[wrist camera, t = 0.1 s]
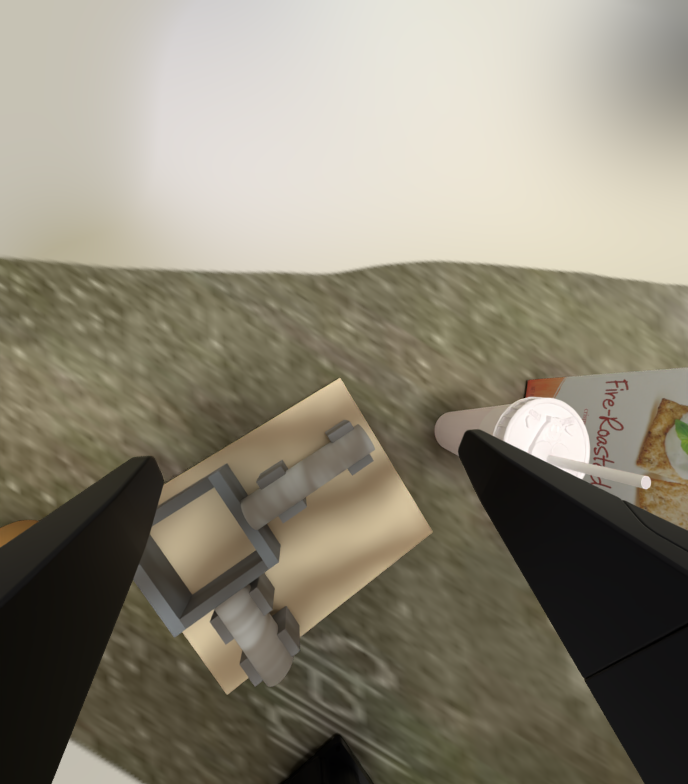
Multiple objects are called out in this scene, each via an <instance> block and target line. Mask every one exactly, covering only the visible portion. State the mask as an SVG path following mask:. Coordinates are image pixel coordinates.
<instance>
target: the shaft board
mask: <svg viewBox="0 0 688 784" xmlns="http://www.w3.org/2000/svg"><path fill="white" fill-rule="evenodd" d="M432 532H433V531H432V530H431V528H430V526H429V525H428V523H427V521H426V520H425V518H424V516H423V515H422V513H421V512H420V510H419V508H418V507H417V505H416V503H415V502H414V500H413V498H412V497H411V495H410V493H409V492H408V490H407V488H406V487H405V485H404V483H403V482H402V480H401V478H400V477H399V475H398V473H397V472H396V470H395V468H394V467H393V465H392V463H391V462H390V460H389V458H388V457H387V455H386V453H385V452H384V450H383V448H382V447H381V445H380V443H379V442H378V440H377V438H376V437H375V435H374V433H373V432H372V430H371V428H370V427H369V425H368V423H367V422H366V420H365V418H364V417H363V415H362V413H361V412H360V410H359V408H358V407H357V405H356V403H355V402H354V400H353V398H352V397H351V395H350V393H349V392H348V390H347V388H346V387H345V385H344V383H343V382H342V380H341V378H339V379H337V380H335V381H334V382H332V383H330V384H329V385H327V386H325V387H324V388H322V389H320V390H319V391H317V392H316V393H314V394H312V395H311V396H309V397H307V398H306V399H304V400H302V401H301V402H299V403H297V404H296V405H294V406H292V407H291V408H289V409H287V410H286V411H284V412H283V413H281V414H279V415H278V416H276V417H274V418H273V419H271V420H269V421H268V422H266V423H264V424H263V425H261V426H259V427H258V428H256V429H254V430H253V431H251V432H250V433H248V434H246V435H245V436H243V437H241V438H240V439H238V440H236V441H235V442H233V443H231V444H230V445H228V446H226V447H225V448H223V449H222V450H220V451H218V452H217V453H215V454H213V455H212V456H210V457H208V458H207V459H205V460H203V461H202V462H200V463H198V464H197V465H195V466H193V467H192V468H190V469H189V470H187V471H185V472H184V473H182V474H180V475H179V476H177V477H175V478H174V479H172V480H170V481H169V482H167V483H165V484H164V485H163V489H162V492H161V496H160V499H159V503H158V507H157V510H156V514H155V517H154V521H153V525H152V528H151V532H150V535H149V538H148V542H147V545H146V548H145V550H144V553H143V556H142V558H141V561H140V563H139V566H138V568H137V571H136V573H135V576H134V578H133V580H134V582H135V583H136V585H137V586H138V587H139V589H140V590H141V592H142V593H143V594H144V596H145V597H146V599H147V600H148V601H149V603H150V604H151V606H152V607H153V608H154V610H155V611H156V612H157V614H158V615H159V617H160V618H161V619H162V621H163V622H164V624H165V625H166V626H167V628H168V629H169V631H170V632H171V633H172V635H173V636H174V637H176V636H177V635H179V634H180V633H181V632H183V634H184V635H185V636H186V638H187V639H188V641H189V642H190V644H191V645H192V646H193V648H194V649H195V651H196V652H197V653H198V655H199V656H200V658H201V659H202V660H203V662H204V663H205V665H206V666H207V667H208V669H209V670H210V672H211V673H212V674H213V676H214V677H215V679H216V680H217V681H218V683H219V684H220V686H221V687H222V688H223V690H224V691H225V693H226V694H229V693H230V692H231V691H232V690H234V689H235V688H236V687H238V686H239V685H240V684H241V683H243V682H244V681H245V680H246V679H248V678H249V679H250V680H251V682H252V683H253V685H254V686H257V685H258V684H259V683H260V682H262V681H264V682H265V684H266V685H267V686H269V687H272V686H275V685H277V684H278V683H279V682H280V681H281V680H282V679H283V678H284V677H285V676H286V674H287V673H288V671H289V669H290V667H291V665H292V662H293V659H294V655H295V654H297V653H298V652H299V651H300V637H301V636H302V635H303V634H305V633H306V632H307V631H308V630H310V629H311V628H312V627H313V626H315V625H316V624H317V623H318V622H320V621H321V620H322V619H323V618H325V617H326V616H327V615H329V614H330V613H331V612H332V611H334V610H335V609H336V608H337V607H339V606H340V605H341V604H342V603H344V602H345V601H346V600H347V599H349V598H350V597H351V596H353V595H354V594H355V593H356V592H358V591H359V590H360V589H361V588H363V587H364V586H365V585H366V584H368V583H369V582H370V581H371V580H373V579H374V578H375V577H377V576H378V575H379V574H380V573H382V572H383V571H384V570H385V569H387V568H388V567H389V566H390V565H392V564H393V563H394V562H395V561H397V560H398V559H399V558H401V557H402V556H403V555H404V554H406V553H407V552H408V551H409V550H411V549H412V548H413V547H414V546H416V545H417V544H418V543H420V542H421V541H422V540H423V539H425V538H426V537H427V536H428V535H430V534H431V533H432Z"/></svg>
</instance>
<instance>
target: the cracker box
mask: <svg viewBox="0 0 688 784" xmlns="http://www.w3.org/2000/svg"><path fill="white" fill-rule="evenodd" d="M527 397H542V398H554V399H558V400H560V401H563V402H565V403H566V404H568V405H569V406H571V407H572V408H573V409H574V410H575V411H576V412H577V414H578V415H579V416H580V418H581V419H582V421H583V423H584V425H585V427H586V430H587V433H588V436H589V443H590V458H589V464H593V465H598V466H603V467H607V468H612V469H616V470H621V471H626V472H630V473H635V474H639V475H644V476H648V477H649V478H650V480H651V485H650V487H649V488H648V489H643V488H639V487H635V486H632V485H628V484H624V483H620V482H616V481H612V480H608V479H604V478H600V477H596V476H592V475H588V474H585V476H584V477H583V479H582V480H584V481H586V482H588V483H590V484H592V485H594V486H597V487H599V488H601V489H603V490H605V491H607V492H609V493H611V494H613V495H615V496H617V497H619V498H620V499H621V500H625V501H627V502H629V503H631V504H633V505H635V506H638V507H640V508H642V509H644V510H646V511H648V512H650V513H652V514H654V515H656V516H658V517H660V518H662V519H665V520H667V521H669V522H671V523H673V524H675V525H677V526H679V527H682V528H684V529H686V530H688V368H675V369H662V370H648V371H635V372H622V373H608V374H596V375H583V376H570V377H560V378H547V379H535V380H528V385H527V391H526V397H525V398H527Z"/></svg>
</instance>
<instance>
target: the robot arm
mask: <svg viewBox="0 0 688 784" xmlns="http://www.w3.org/2000/svg"><path fill="white" fill-rule="evenodd" d="M458 454H459V457H460V460H461V462H462V464H463V466H464V468H465V470H466V472H467V475H468V477H469V479H470V481H471V483H472V485H473V488H474V490H475V492H476V494H477V496H478V498H479V500H480V502H481V503H482V505H483V507H484V509H485V510H486V512H487V514H488V516H489V517H490V519H491V521H492V522H493V524H494V526H495V528H496V529H497V531H498V533H499V534H500V536H501V538H502V540H503V541H504V543H505V545H506V546H507V548H508V550H509V552H510V553H511V555H512V557H513V558H514V560H515V562H516V564H517V565H518V567H519V569H520V570H521V572H522V574H523V576H524V577H525V579H526V581H527V582H528V584H529V586H530V588H531V589H532V591H533V593H534V594H535V596H536V598H537V600H538V601H539V603H540V605H541V606H542V608H543V610H544V612H545V613H546V615H547V617H548V618H549V620H550V622H551V624H552V625H553V627H554V629H555V630H556V632H557V634H558V635H559V637H560V639H561V641H562V642H563V644H564V646H565V647H566V649H567V651H568V653H569V654H570V656H571V658H572V659H573V661H574V663H575V665H576V666H577V668H578V670H579V671H580V673H581V675H582V677H583V678H585V679H584V680H585V682H586V684H587V686H588V687H589V689H590V691H591V692H592V694H593V696H594V698H595V699H596V701H597V703H598V704H599V706H600V708H601V710H602V711H603V713H604V715H605V716H606V718H607V720H608V722H609V723H610V725H611V727H612V729H613V730H614V732H615V734H616V735H617V737H618V739H619V741H620V742H621V744H622V746H623V747H624V749H625V751H626V753H627V754H628V756H629V758H630V759H631V761H632V763H633V765H634V766H635V768H636V770H637V771H638V773H639V775H640V777H641V778H642V780H643V782H644V783H645V784H688V530H686V529H684V528H682V527H679V526H677V525H675V524H673V523H671V522H669V521H667V520H665V519H662V518H660V517H658V516H656V515H654V514H652V513H650V512H648V511H646V510H644V509H642V508H640V507H638V506H635V505H633V504H631V503H629V502H627V501H625V500H621V499H620V498H619V497H617V496H615V495H613V494H611V493H609V492H607V491H605V490H603V489H601V488H599V487H597V486H594V485H592V484H590V483H588V482H586V481H584V480H582V479H580V478H578V477H576V476H574V475H572V474H570V473H568V472H566V471H564V470H562V469H560V468H558V467H556V466H554V465H552V464H550V463H548V462H545V461H543V460H541V459H539V458H537V457H535V456H533V455H531V454H529V453H527V452H525V451H523V450H521V449H519V448H517V447H515V446H513V445H511V444H509V443H507V442H505V441H503V440H501V439H498V438H496V437H494V436H492V435H490V434H488V433H486V432H484V431H482V430H480V429H472V430H467V431H465V433H464V435H463V437H462V440H461V442H460V445H459V448H458ZM163 484H164V480H163V476H162V473H161V471H160V469H159V467H158V464H157V462H156V460H155V458H154V457H152V456H140V457H133V458H131V459H130V460H128V461H127V462H125V463H124V464H122V465H121V466H119V467H118V468H116V469H115V470H113V471H112V472H110V473H109V474H108V475H106V476H105V477H103V478H102V479H100V480H99V481H97V482H96V483H94V484H93V485H91V486H90V487H88V488H87V489H85V490H84V491H83V492H81V493H80V494H78V495H77V496H75V497H74V498H72V499H71V500H69V501H68V502H66V503H65V504H63V505H62V506H60V507H59V508H58V509H56V510H55V511H53V512H52V513H50V514H49V515H47V516H46V517H44V518H43V519H41V520H40V521H38V522H37V523H35V524H34V525H32V526H31V527H30V528H28V529H27V530H25V531H24V532H22V533H21V534H19V535H18V536H16V537H15V538H13V539H12V540H10V541H9V542H7V543H6V544H5V545H3V546H2V547H0V784H52V781H53V779H54V776H55V774H56V771H57V769H58V766H59V763H60V761H61V758H62V756H63V753H64V751H65V749H66V746H67V744H68V741H69V739H70V736H71V734H72V731H73V729H74V726H75V724H76V721H77V719H78V716H79V714H80V711H81V709H82V706H83V704H84V701H85V699H86V696H87V694H88V691H89V689H90V686H91V684H92V681H93V679H94V676H95V674H96V671H97V669H98V666H99V664H100V661H101V659H102V656H103V654H104V651H105V649H106V646H107V644H108V641H109V638H110V636H111V633H112V631H113V628H114V626H115V623H116V621H117V618H118V616H119V613H120V611H121V608H122V606H123V603H124V601H125V598H126V596H127V593H128V591H129V588H130V586H131V583H132V581H133V578H134V576H135V573H136V571H137V568H138V566H139V563H140V561H141V558H142V556H143V553H144V550H145V548H146V545H147V542H148V538H149V535H150V532H151V528H152V525H153V521H154V517H155V514H156V510H157V507H158V503H159V499H160V496H161V492H162V489H163ZM283 784H373V783H372V781H371V780H370V779H369V777H368V776H367V774H366V773H365V771H364V770H363V768H362V767H361V765H360V764H359V762H358V761H357V759H356V758H355V756H354V755H353V754H352V752H351V751H350V749H349V748H348V746H347V745H346V743H345V742H344V740H343V739H342V738H341V737H340V736H336V737H335V738H333V739H332V740H331V741H330V742H329V743H328V744H327V745H325V746H324V747H323V748H322V749H321V750H320V751H319V752H318V753H316V754H315V755H314V756H313V757H312V758H311V759H310V760H309V761H308V762H306V763H305V764H304V765H303V766H302V767H301V768H300V769H299V770H297V771H296V772H295V773H294V774H293V775H292V776H291V777H290V778H289V779H287V780H286V781H285V782H284V783H283Z"/></svg>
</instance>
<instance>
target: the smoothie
mask: <svg viewBox="0 0 688 784" xmlns="http://www.w3.org/2000/svg"><path fill="white" fill-rule="evenodd" d="M472 429H480V430H482V431H484V432H486V433H488V434H490V435H492V436H494V437H496V438H498V439H501V440H503V441H505V442H507V443H509V444H511V445H513V446H515V447H517V448H519V449H521V450H523V451H525V452H527V453H529V454H531V455H533V456H535V457H537V458H539V459H541V460H543V461H545V462H548V463H550V464H552V465H554V466H556V467H558V468H560V469H562V470H564V471H566V472H568V473H570V474H572V475H574V476H576V477H578V478H580V479H583V477H584V476H585V474H588V475H592V476H596V477H600V478H604V479H608V480H612V481H616V482H620V483H624V484H628V485H632V486H635V487H639V488H643V489H648V488H649V487H650V485H651V480H650V478H649V477H648V476H644V475H639V474H635V473H630V472H626V471H621V470H616V469H612V468H607V467H603V466H598V465H593V464H589V458H590V443H589V436H588V433H587V430H586V427H585V425H584V423H583V421H582V419H581V418H580V416H579V415H578V414H577V412H576V411H575V410H574V409H573V408H572V407H571V406H569V405H568V404H566V403H565V402H563V401H560V400H558V399H554V398H542V397H527V398H523V399H520V400H518V401H516V402H514V403H513V404H508V405H501V406H493V407H485V408H477V409H469V410H461V411H453V412H447V413H445V414H443V415H442V416H440V418H439V419H438V420H437V422H436V425H435V437H436V440H437V442H438V443H439V444H440V445H441V446H442V447H443V448H445V449H447V450H448V451H450V452H452V453H454V454H456V455H457V456H459V454H458V448H459V445H460V442H461V440H462V437H463V435H464V433H465V431H467V430H472Z"/></svg>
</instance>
